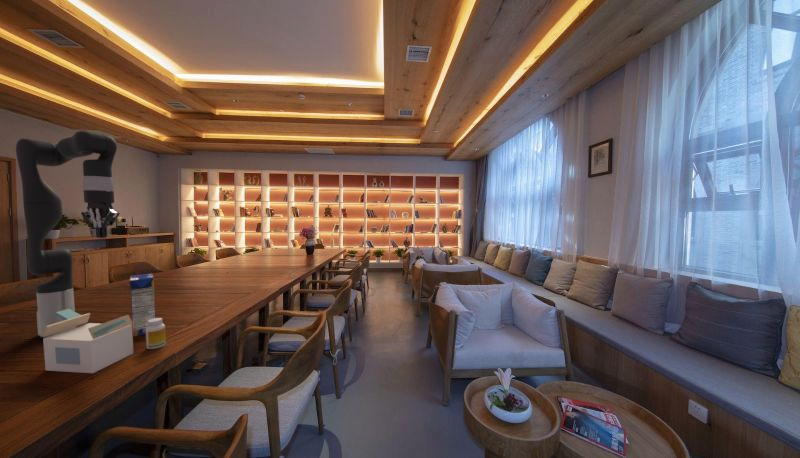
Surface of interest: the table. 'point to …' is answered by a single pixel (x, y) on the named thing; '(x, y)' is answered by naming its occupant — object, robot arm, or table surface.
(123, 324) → the flap
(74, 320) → the flap
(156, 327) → the supplement bottle
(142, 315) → the beverage box
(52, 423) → the table surface
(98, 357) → the carton
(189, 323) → the table surface
